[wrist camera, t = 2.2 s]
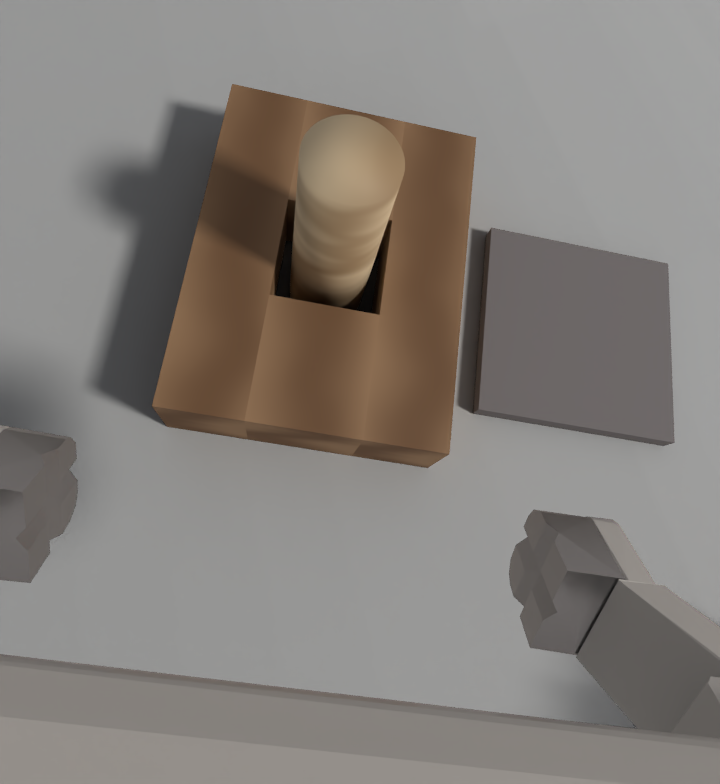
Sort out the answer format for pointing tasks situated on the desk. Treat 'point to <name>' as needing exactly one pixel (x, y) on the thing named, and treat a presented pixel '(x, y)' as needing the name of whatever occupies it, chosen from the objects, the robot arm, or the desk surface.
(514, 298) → the charcoal mat
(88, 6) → the desk surface
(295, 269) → the beech peg
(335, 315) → the walnut holder
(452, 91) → the desk surface
